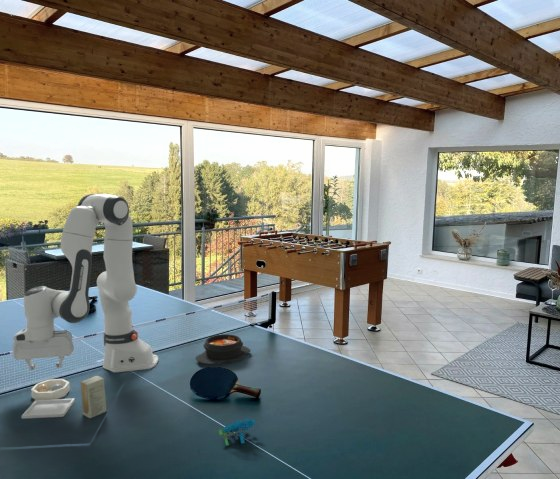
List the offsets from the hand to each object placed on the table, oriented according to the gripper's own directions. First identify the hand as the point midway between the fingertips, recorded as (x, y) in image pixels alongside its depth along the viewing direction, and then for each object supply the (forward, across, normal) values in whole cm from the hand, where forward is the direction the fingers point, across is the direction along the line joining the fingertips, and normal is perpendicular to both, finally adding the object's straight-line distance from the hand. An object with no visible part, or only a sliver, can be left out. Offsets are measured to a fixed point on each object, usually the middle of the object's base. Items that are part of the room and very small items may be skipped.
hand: (46, 368), depth 178 cm
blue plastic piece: (+11, -69, +40) cm, 80 cm away
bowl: (+9, -2, +3) cm, 10 cm away
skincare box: (+10, -21, +19) cm, 30 cm away
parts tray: (+9, -6, +15) cm, 19 cm away
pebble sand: (+8, 0, +3) cm, 9 cm away
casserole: (+13, -63, -26) cm, 69 cm away
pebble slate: (+8, -3, +3) cm, 9 cm away
